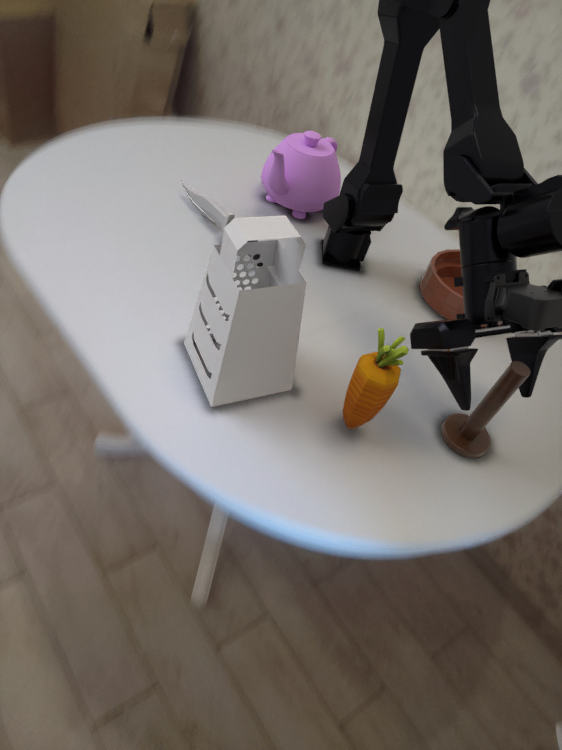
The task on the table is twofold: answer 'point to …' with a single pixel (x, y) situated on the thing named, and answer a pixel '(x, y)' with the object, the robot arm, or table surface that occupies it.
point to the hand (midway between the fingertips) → (496, 403)
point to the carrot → (373, 382)
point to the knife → (212, 211)
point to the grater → (249, 312)
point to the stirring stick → (482, 414)
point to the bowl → (444, 284)
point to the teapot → (302, 173)
